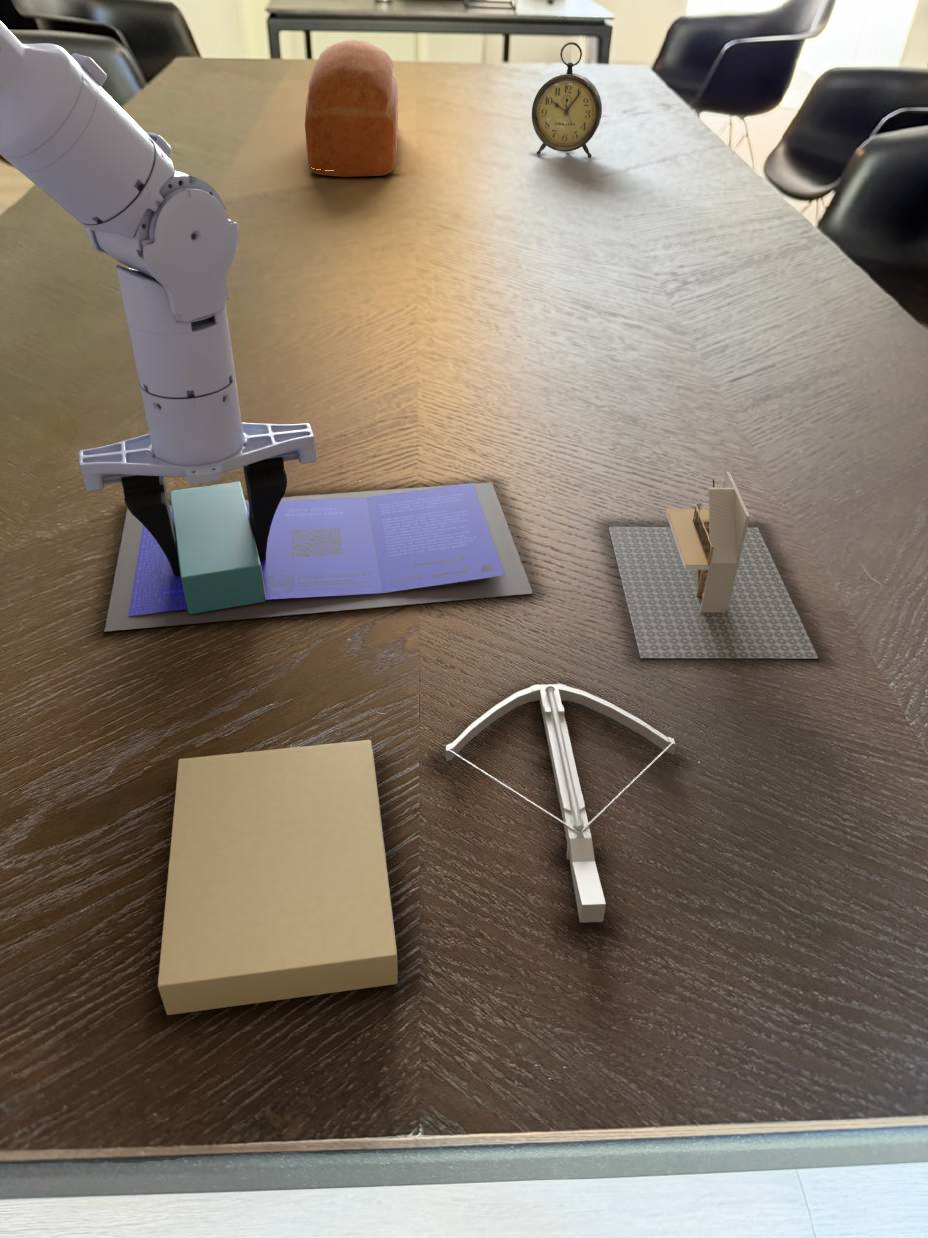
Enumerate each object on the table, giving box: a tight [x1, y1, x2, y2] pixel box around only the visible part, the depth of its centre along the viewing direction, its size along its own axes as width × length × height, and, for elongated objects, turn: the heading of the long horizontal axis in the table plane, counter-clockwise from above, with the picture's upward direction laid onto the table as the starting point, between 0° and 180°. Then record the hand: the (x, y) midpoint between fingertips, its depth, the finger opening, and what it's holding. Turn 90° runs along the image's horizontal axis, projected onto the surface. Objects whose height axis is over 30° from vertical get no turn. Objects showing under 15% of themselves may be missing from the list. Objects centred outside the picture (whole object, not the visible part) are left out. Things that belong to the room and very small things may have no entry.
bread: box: [304, 39, 399, 178], centre depth 154 cm, size 14×33×16 cm, turn 2°
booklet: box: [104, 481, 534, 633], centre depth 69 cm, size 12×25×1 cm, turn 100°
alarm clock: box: [531, 41, 603, 159], centre depth 155 cm, size 11×5×16 cm, turn 77°
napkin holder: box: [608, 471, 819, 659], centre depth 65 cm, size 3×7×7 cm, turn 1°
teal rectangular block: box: [169, 481, 266, 614], centre depth 67 cm, size 5×11×3 cm, turn 17°
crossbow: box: [445, 683, 676, 924], centre depth 51 cm, size 16×13×2 cm
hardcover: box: [157, 739, 399, 1016], centre depth 47 cm, size 10×13×2 cm
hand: (218, 561), depth 67 cm, fingers closed on teal rectangular block, 5 cm apart
